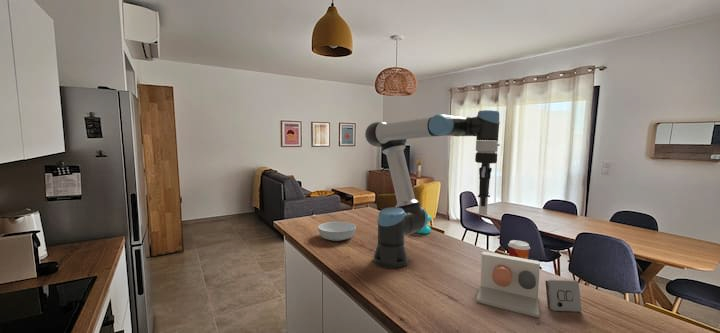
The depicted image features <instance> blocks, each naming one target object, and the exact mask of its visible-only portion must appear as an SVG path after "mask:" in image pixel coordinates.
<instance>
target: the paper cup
mask: <svg viewBox="0 0 720 333" xmlns="http://www.w3.org/2000/svg"><path fill="white" fill-rule="evenodd" d="M507 245H508V256H512V257H518V258H524V259H529V253H530V250H531V247H530V244H529V243H528V242H527V241H522V240H518V239H517V240H515V239H512V240H510V241H509V243H507ZM509 269H510V268H509Z"/></svg>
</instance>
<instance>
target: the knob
mask: <svg viewBox="0 0 720 333" xmlns="http://www.w3.org/2000/svg"><path fill="white" fill-rule="evenodd" d="M492 278H493V281H494V282H495V283H496V284H497V285H499V286H501V287H506V286H509V285H510V284H511V282H512V272H511V270H510V269H509V268H508V267H507V266H504V265H498V266H496V267H495V268H494V270H493V274H492Z"/></svg>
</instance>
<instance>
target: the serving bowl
mask: <svg viewBox="0 0 720 333" xmlns="http://www.w3.org/2000/svg"><path fill="white" fill-rule="evenodd" d="M356 229H357V226H356V225H355V224H354V223H353V222H352V223H351V222H347V221H327V222H324V223H321V224H319V225H318V226H317V231H318V234H319V235H320V236H321V238H323V239H324V240H325V239H326V240H329V241H334V242H339V241H344V240H348V239H350V238H351V237H353V236H354V234H355V233H356Z"/></svg>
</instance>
